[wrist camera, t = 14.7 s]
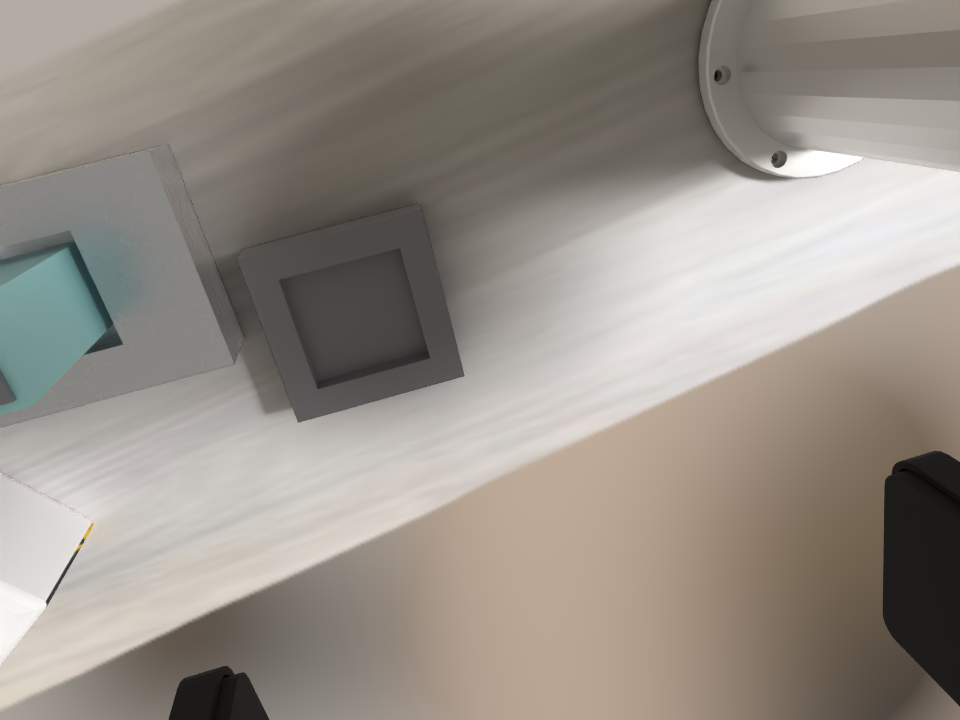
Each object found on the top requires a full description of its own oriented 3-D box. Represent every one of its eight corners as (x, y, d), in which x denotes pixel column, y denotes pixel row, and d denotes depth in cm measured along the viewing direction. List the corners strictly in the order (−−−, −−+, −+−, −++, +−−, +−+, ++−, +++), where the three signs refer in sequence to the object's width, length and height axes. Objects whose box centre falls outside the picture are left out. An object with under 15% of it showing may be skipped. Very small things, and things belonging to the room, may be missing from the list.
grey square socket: (418, 203, 35) (421, 210, 33) (459, 362, 39) (464, 376, 37) (242, 249, 35) (236, 258, 33) (300, 406, 38) (298, 422, 36)
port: (168, 143, 32) (147, 151, 29) (244, 339, 36) (233, 365, 33) (-142, 220, 31) (-202, 237, 28) (-29, 412, 35) (-69, 447, 32)
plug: (82, 238, 32) (-29, 303, 23) (119, 317, 34) (30, 408, 24) (-5, 261, 32) (-153, 336, 23) (36, 340, 33) (-85, 440, 24)
